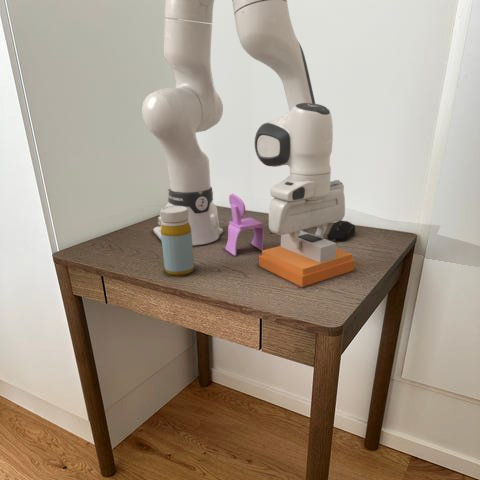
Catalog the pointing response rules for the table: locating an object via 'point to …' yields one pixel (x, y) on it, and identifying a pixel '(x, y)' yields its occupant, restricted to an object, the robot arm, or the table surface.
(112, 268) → the table surface
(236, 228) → the toy chair
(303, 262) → the folded cloth
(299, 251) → the remote
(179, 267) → the bottle
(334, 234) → the gaming mouse
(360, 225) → the table surface
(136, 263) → the table surface
